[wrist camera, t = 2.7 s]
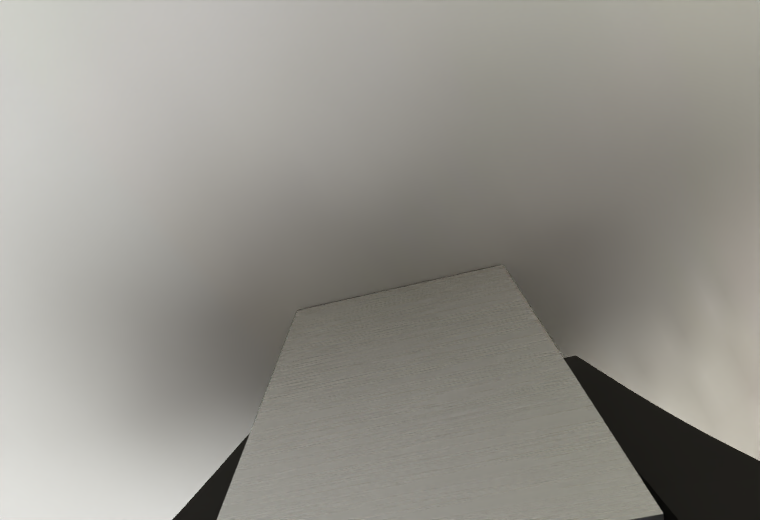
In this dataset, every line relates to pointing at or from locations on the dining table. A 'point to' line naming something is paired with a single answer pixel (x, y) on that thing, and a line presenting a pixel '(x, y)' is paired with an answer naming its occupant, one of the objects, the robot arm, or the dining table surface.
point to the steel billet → (430, 417)
